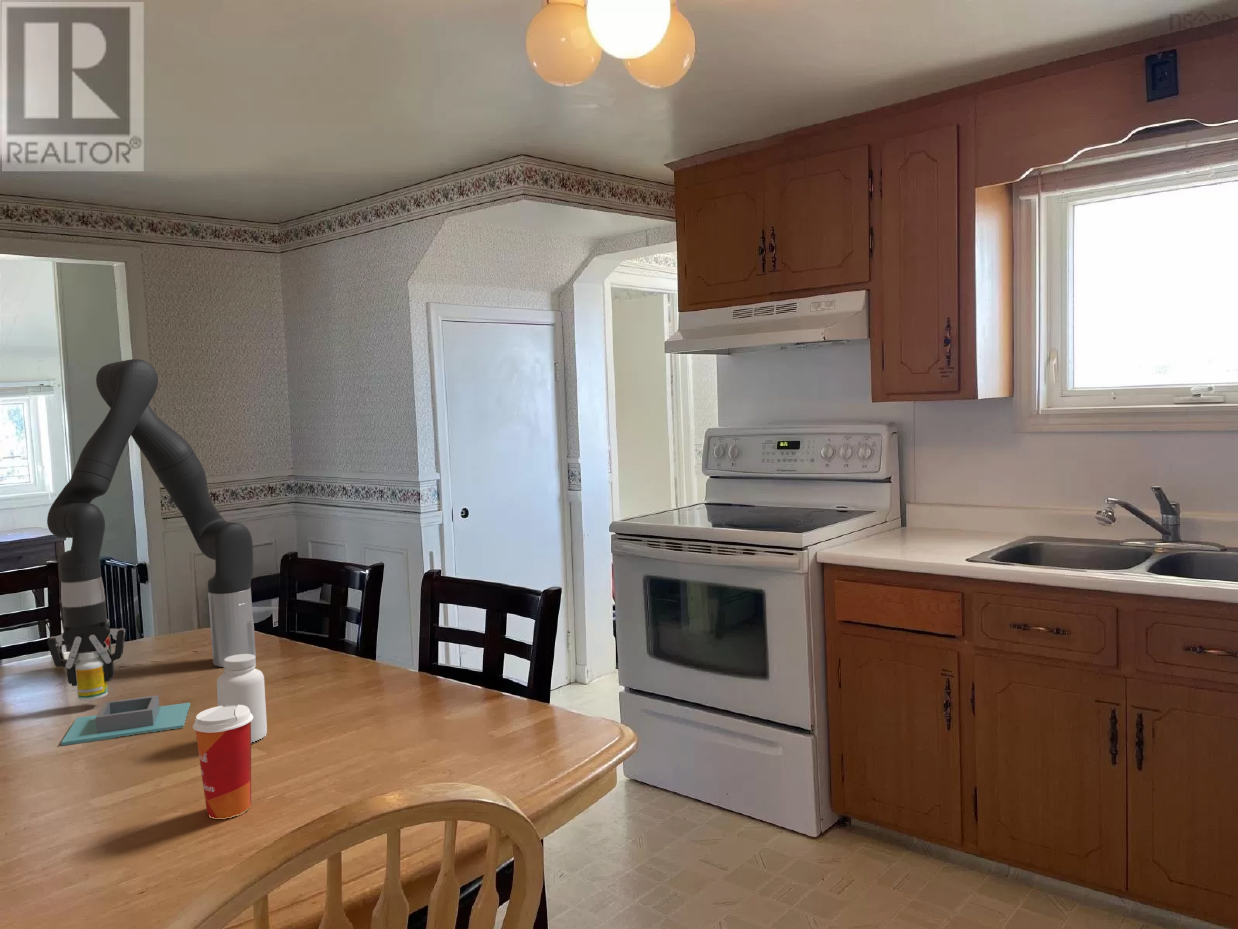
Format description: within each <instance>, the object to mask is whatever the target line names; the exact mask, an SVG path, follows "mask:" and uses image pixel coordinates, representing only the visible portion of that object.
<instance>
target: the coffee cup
mask: <svg viewBox="0 0 1238 929" xmlns="http://www.w3.org/2000/svg"><path fill="white" fill-rule="evenodd" d="M252 719H253V715H252V714H251V713H250V710H249V708H248V707H247V706H244V705H238V706H235V705H226V707H223V706H218V705H217V706H213V707H210V708H207V709H204V710H202V711H200V712H198V713H197V715H196V716H195V720H194V723H193V724H192V729H193V730H194V731H195V735H196V736H195V737H196V742H197V750H198V759H199V765H200V772H201V779H202V787H203V795H204V799H205V800H204V801H205V807H206V813H208V814H207V816H208V815H210V816H211V817H214V818H226V817H231V816H233V815H236V814H240V813H241V812H243V811H245V810H246V809H247V808H249V807H250V805H251V806H252V743H251V721H252Z"/></svg>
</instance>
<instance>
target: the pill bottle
mask: <svg viewBox="0 0 1238 929" xmlns="http://www.w3.org/2000/svg"><path fill="white" fill-rule="evenodd" d="M256 658H257V657H255V656H254V655H252V654H238V655H233V656H229V657H227V658H225V659H224V667H223V673H221V674H220V675H219V676H218V678H217V681H216V693H217V694H216V695H217V696H216V697H217V706H223V707H226V705H235V706H238V705H244V706H247V707H248V708H249V710H250V713H251V714H252V715H253V719H252V721H251V744H253V743H252V742H254V743H256V742H255V741H257V740H259V739H261V740H263V739H264V738H265V737H266V736H267V735H266V734H268V726H267V725H268V724H267V722H268V721H267V720H268V719H267V705H266V690H265V687H266V686H265V675H264V674H263V671H261V670H260V669H258V668H256V663H257V662H256ZM264 736H265V737H264ZM263 737H264V738H263ZM262 738H263V739H262ZM259 741H260V740H259ZM257 742H258V741H257Z"/></svg>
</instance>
